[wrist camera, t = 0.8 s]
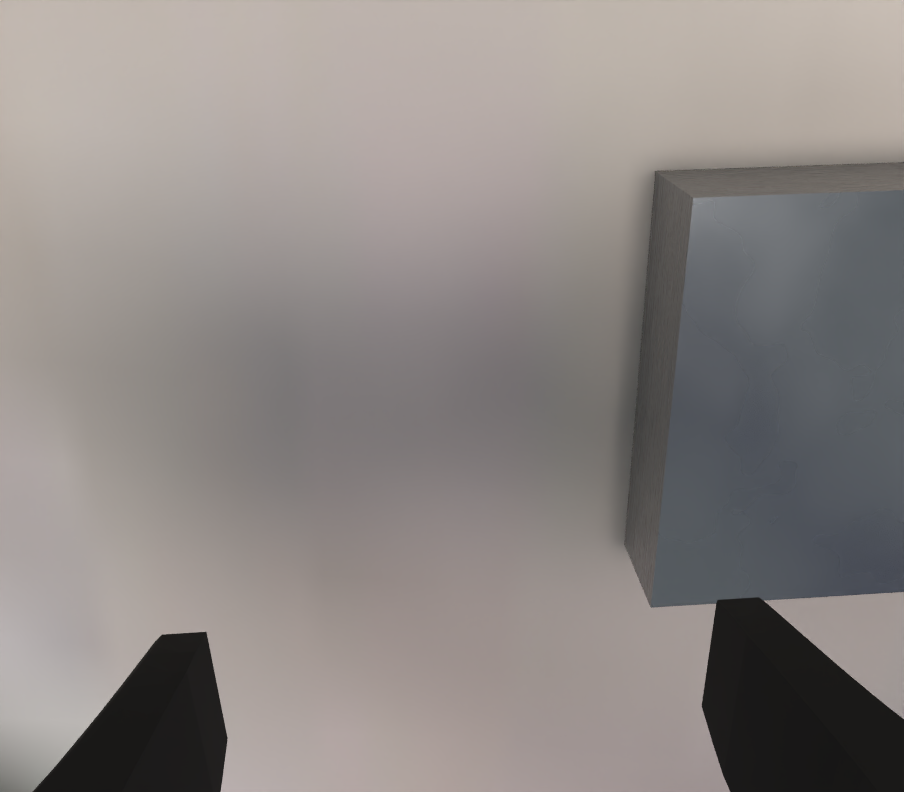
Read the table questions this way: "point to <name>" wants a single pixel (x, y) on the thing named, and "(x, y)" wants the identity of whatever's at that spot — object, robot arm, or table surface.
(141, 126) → the table surface
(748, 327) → the steel slab
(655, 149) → the table surface
